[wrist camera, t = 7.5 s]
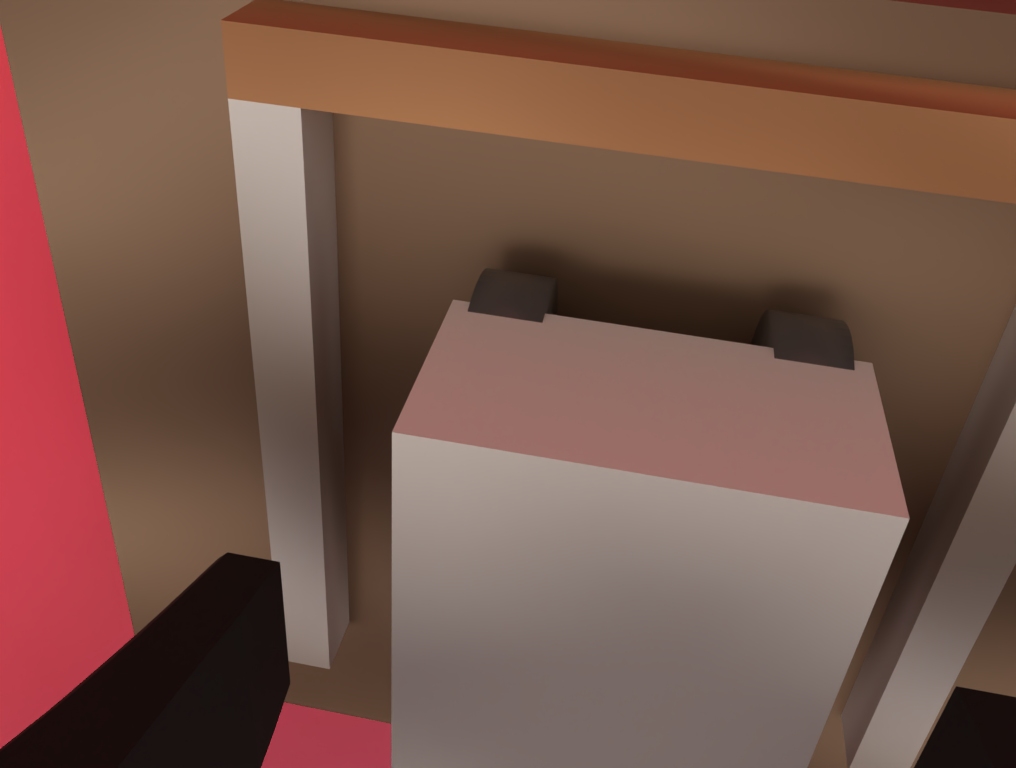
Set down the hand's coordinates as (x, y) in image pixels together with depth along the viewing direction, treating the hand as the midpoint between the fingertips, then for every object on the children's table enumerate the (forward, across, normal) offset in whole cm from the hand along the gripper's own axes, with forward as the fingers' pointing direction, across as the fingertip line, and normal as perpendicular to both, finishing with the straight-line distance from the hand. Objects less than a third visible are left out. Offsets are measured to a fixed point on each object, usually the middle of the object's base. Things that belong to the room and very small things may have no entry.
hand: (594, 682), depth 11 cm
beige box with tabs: (+3, 0, 0) cm, 4 cm away
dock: (+5, 0, 0) cm, 5 cm away
